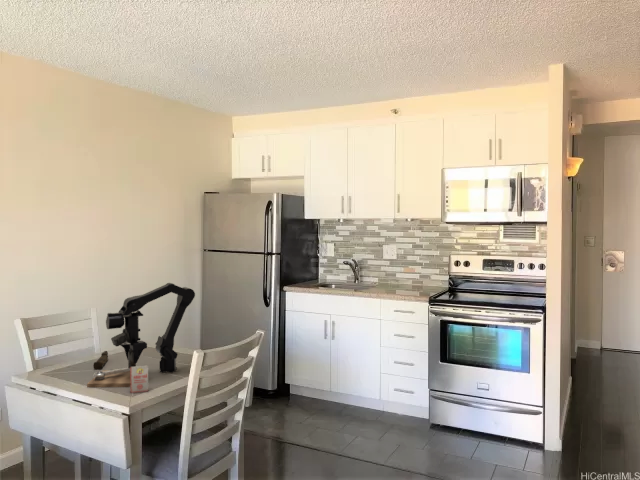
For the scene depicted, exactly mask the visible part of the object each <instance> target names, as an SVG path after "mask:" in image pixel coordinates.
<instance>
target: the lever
mask: <svg viewBox="0 0 640 480" xmlns="http://www.w3.org/2000/svg"><path fill="white" fill-rule="evenodd" d="M127 364H128V365H127V367H121V368H116V369H110V371H104V372H102V371H103V370H98V371H95V372H94V373H93V374H92V376H93V378H96V377H97V378H98V377H104V376H107V375H112V374H117V373H123V372H128V371H130V367H136V366H137V363H135V364H134V361H133V355H132V352H131V351H128V360H127Z"/></svg>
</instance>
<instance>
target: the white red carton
mask: <svg viewBox="0 0 640 480" xmlns="http://www.w3.org/2000/svg"><path fill="white" fill-rule="evenodd" d="M129 388H130V394H133V393H143V392H149V365H139V366H138V365H136V367H130V387H129Z"/></svg>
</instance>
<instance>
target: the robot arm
mask: <svg viewBox="0 0 640 480" xmlns="http://www.w3.org/2000/svg"><path fill="white" fill-rule="evenodd" d="M171 293H173V294H175V295H177V297H176V306H175V308H174V311H173V312H172V315H171V318H170V319H169V322H168V325H167V327H166V330H165V332H164V334H163V335H161V336H160V335H159V336H158V337H157V340H156V342H155V344H154V345H155V350H156V352H157V353H158V354H159V355H160V356H161V357H160V360H159V373H175V372H176V370H177V369H178V368H177V357H178V355H179V354H178V353H177V352H176V351H175V350H174V347H175V346H174V345H175V337H176V333H177V332H178V329H179V326H180V323H181V321H182V320H183V317H184V314H185V312H186V310H187V308H188V307H189V306H190V305H191V303H192V302H193V300H194V299H195V297H196V293H195V291H194V290H193V288H189V287H186V286H183V287H181V286H178V285H176V284H175V283H172V282H167V283H165V284H163V285H161V286H159V287H156V288H155V289H152V290H149V291H148V292H146V293H143V294H140V295H134V296H129V297H127V298H125V299H124V301H123V303H122V306H121V307H120V309H119V311H118V312H113V313H112V312H108V313H107V316H106V319H105V326H106V329H107V330H112V329H113V330H114V329H122V328H123V327H124V328H123V329H122V332H121V333H119V334H117V335H115V336H113V337H111V339H110V340H111V343H112V344H113V346H115V347H119V346H120V347H122V348H123V349H124V353H125V357H126V359H127V361H128V351H131V352H132V355H133V361H134V364H135V363H136V364H137V363H138V361H139V359H140V356H141V354H142V353H143V351H144V350H145V349H147V348H148V343H147V342H146V341H144V340H141V337H139V335H140V333H139V332H141V328H139V326H140V323H139V320H140V319H139V317H143V316H144V314H143V313H142V312H141V309H142V308H143V307H144V306H146V305H147V304H148V303H150V302H153V301H155V300H157V299H160V298H162V297H164V296H166V295H168V294H171Z"/></svg>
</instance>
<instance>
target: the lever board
mask: <svg viewBox="0 0 640 480" xmlns="http://www.w3.org/2000/svg"><path fill="white" fill-rule="evenodd" d="M110 370H111V369H110ZM110 370H109V369H108V370H104V369H103V370H101V371H102V372H104V371H110ZM86 385H87V388H131V387H130V371H128V372H123V373H117V374H112V375H107V376H104V377H98V378H97V377H96V378H95V377H93V378H92V379H90V380H89V381H88V382H87V383H86Z"/></svg>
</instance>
